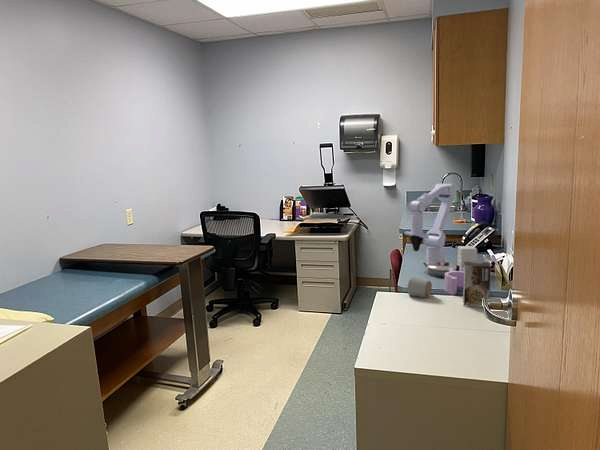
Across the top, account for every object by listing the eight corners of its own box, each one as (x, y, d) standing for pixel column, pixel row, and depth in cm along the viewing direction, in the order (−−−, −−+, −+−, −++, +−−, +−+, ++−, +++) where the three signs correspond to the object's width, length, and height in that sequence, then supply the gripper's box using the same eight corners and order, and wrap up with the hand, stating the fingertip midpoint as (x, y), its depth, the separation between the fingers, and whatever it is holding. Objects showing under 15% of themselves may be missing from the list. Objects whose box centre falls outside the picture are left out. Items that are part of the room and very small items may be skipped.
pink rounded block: (443, 281, 197) (443, 267, 196) (472, 283, 194) (473, 268, 193) (444, 294, 178) (445, 278, 177) (477, 296, 175) (477, 280, 174)
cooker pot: (437, 268, 221) (437, 260, 220) (467, 276, 205) (467, 267, 205) (417, 272, 214) (418, 263, 213) (447, 280, 198) (447, 271, 198)
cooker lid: (440, 262, 218) (440, 259, 218) (462, 268, 206) (462, 264, 206) (421, 266, 211) (421, 262, 211) (442, 272, 200) (443, 268, 199)
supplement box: (472, 270, 216) (473, 245, 214) (476, 274, 208) (477, 248, 207) (456, 270, 216) (457, 245, 215) (460, 274, 209) (461, 248, 207)
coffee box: (487, 302, 167) (489, 262, 164) (489, 308, 161) (491, 265, 158) (462, 300, 169) (464, 260, 167) (463, 306, 163) (465, 264, 161)
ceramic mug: (427, 300, 171) (427, 281, 170) (406, 297, 175) (407, 278, 174) (434, 293, 180) (435, 275, 179) (415, 290, 184) (415, 273, 183)
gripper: (400, 223, 222) (400, 249, 224) (421, 226, 210) (421, 254, 212) (410, 222, 226) (410, 247, 228) (432, 225, 213) (431, 252, 215)
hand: (416, 250), depth 220 cm, fingers closed
